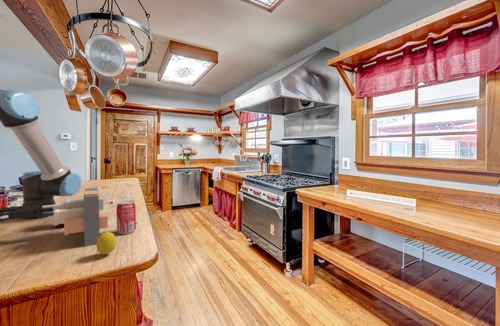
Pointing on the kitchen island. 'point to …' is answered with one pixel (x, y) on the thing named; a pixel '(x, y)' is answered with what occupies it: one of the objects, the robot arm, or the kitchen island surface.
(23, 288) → the kitchen island surface
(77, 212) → the ivory key
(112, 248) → the lemon
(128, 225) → the soda can
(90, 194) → the key panel
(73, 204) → the sage key
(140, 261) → the kitchen island surface
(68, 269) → the kitchen island surface
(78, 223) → the terracotta key
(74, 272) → the kitchen island surface
